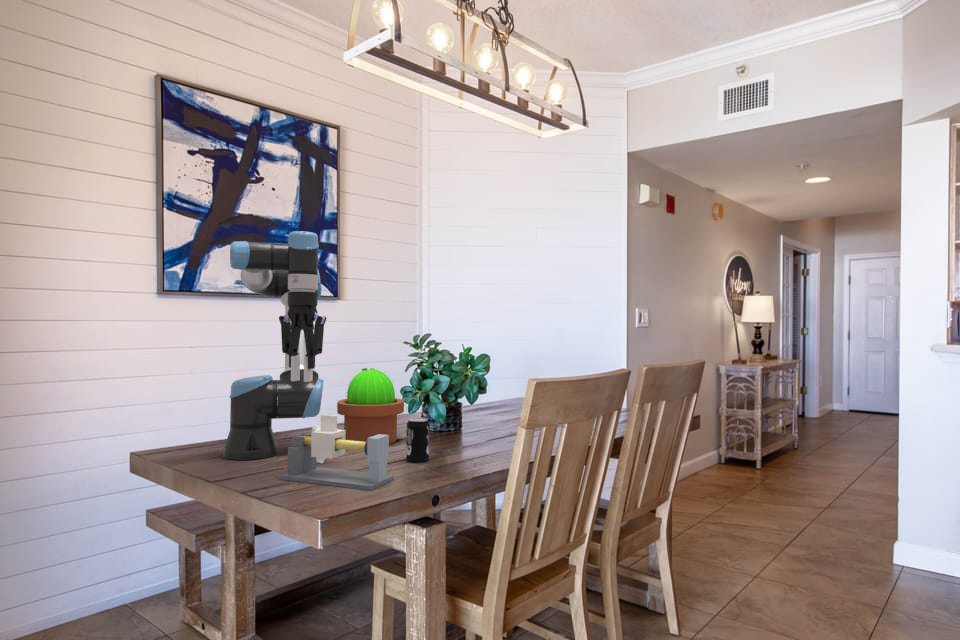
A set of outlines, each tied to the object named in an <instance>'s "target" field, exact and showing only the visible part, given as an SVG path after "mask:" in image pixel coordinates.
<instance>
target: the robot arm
mask: <svg viewBox="0 0 960 640" xmlns="http://www.w3.org/2000/svg"><path fill="white" fill-rule="evenodd" d="M287 241H288V242H287V243H279V242H258V241H257V242H256V241H246V240H243V241H242V240H241V241H232V242H231V243H230V248H229V263H230V267H231V268H232V269H233V270H240V279H241V283H242V284H243V286H244V287H245V288H246V289H248V290H249V291H251V292H252V293H255V294H258V295H260V296H263V297H268V298H280V302H281V304H282V305H283V306H284V310H285V311H284V312H285V313H284V315H279V316H278V320H279V322H280V330H281V332H280V334H281V350H282V353H283V354H284V370H283V371H282V372H281V373H280V374H279V379H273V378H274V377H273V376H272V375H270V374H268V375H256V376H250V377H249V376H248V377H244V378H239V379H236V380H234V381H233V382H232V383H231V385H230V395H229V398H230V413H229V414H230V415H229V416H230V417H229V432H228V435H227V438H226V441H225V446H224V447H223V455H222V456H223V458H224V459H227V460H236V461H250V460H252V461H253V460H260V459H267V458H270V457H274V456H276V455H277V454H278V444H277V442H276V438H275V435H274V432H273V429H272V424H273V423H272V422H273V420H274V419H275V420H276V419H279V420H280V419H305V418H314V417H317V416H318V415H319V414H320V412H321V404H322V397H323V392H324V391H323V389H324V379H322V378H320V377H319V373H318V372H317V371H316V370H315V368H316V356H317V355H321V354H322V353H323V343H324V330H325V324H326V321H327V317H326V315H325V316H323V315H320V314H319V313H318V309H317V306H318V299H320V298H321V297H322V285H321V283H322V282H321V276H320V275H321V274H320V271H319V268H318V266H319V265H318V263H319V246H320V244H319V236H318V234H317V233H315V232H311V231H302V230H301V231H297V230H296V231H291V232H289V233H288V239H287Z"/></svg>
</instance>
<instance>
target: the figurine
mask: <svg viewBox="0 0 960 640" xmlns="http://www.w3.org/2000/svg"><path fill="white" fill-rule="evenodd" d="M318 430H321V422H319V423H315V424H313V426H312V428H311V433H312V432H314V431H318ZM325 460H326V458H319V457H316V464H324V462H325Z"/></svg>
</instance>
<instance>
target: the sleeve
mask: <svg viewBox="0 0 960 640" xmlns="http://www.w3.org/2000/svg"><path fill="white" fill-rule="evenodd" d="M320 423H321V430H318V431H314V432H312V431H311V434H312V437H311V457H319V458H325V459H331V460H332V459H334V458H337V457H340V456H344V455H345V454H346V450H344V449H335V439H341V440H345V436H346V430H344V429H339V428H338V415H331V414H330V415H329V414H320Z"/></svg>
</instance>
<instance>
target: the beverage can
mask: <svg viewBox="0 0 960 640" xmlns="http://www.w3.org/2000/svg"><path fill="white" fill-rule="evenodd" d="M407 420H408V421H407V422H406V440H405V441H406V445H405V446H406V447H405V448H406V449H405V451H406V452H405V455H406V456H405V457H406V460H407V462H410V463H415V464H416V463H418V464H420V463H425V462H427V461H428V460H429V459H430V423H429V421H428V420H429V419H428V418H425V417H411V418H408V419H407Z"/></svg>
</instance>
